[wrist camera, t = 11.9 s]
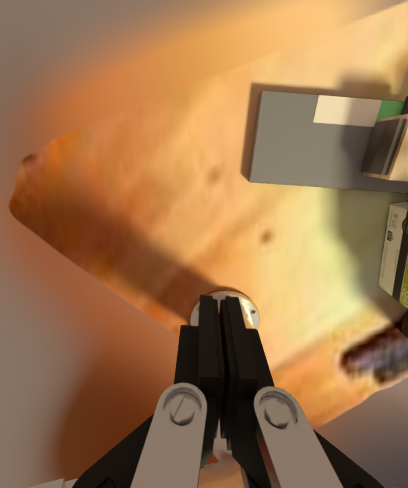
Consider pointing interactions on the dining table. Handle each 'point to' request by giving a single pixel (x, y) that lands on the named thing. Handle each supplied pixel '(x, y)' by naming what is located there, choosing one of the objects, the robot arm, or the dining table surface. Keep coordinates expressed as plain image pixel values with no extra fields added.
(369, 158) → the block
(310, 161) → the base
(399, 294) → the tea box
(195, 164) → the dining table surface
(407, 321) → the olive oil
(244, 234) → the dining table surface
